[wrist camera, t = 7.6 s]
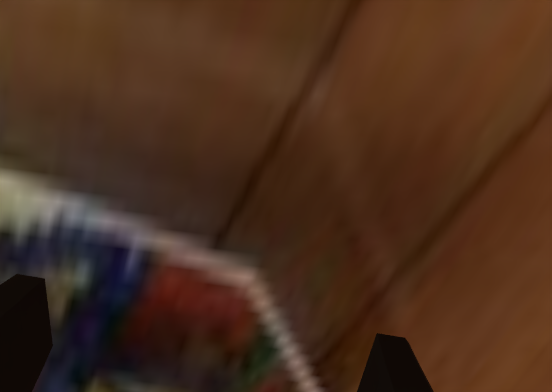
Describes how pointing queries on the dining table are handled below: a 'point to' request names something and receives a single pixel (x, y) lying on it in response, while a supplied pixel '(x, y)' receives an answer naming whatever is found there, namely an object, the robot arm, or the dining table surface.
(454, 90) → the dining table surface
